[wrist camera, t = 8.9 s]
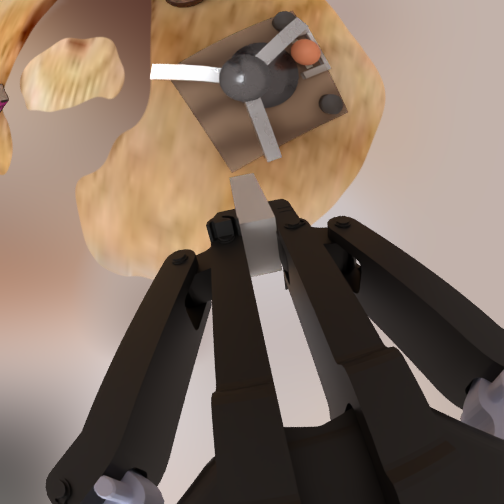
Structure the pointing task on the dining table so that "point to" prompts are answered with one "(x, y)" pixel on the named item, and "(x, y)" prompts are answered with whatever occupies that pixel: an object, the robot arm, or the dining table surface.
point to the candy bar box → (3, 97)
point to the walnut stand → (280, 117)
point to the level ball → (305, 52)
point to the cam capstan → (250, 80)
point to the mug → (183, 2)
